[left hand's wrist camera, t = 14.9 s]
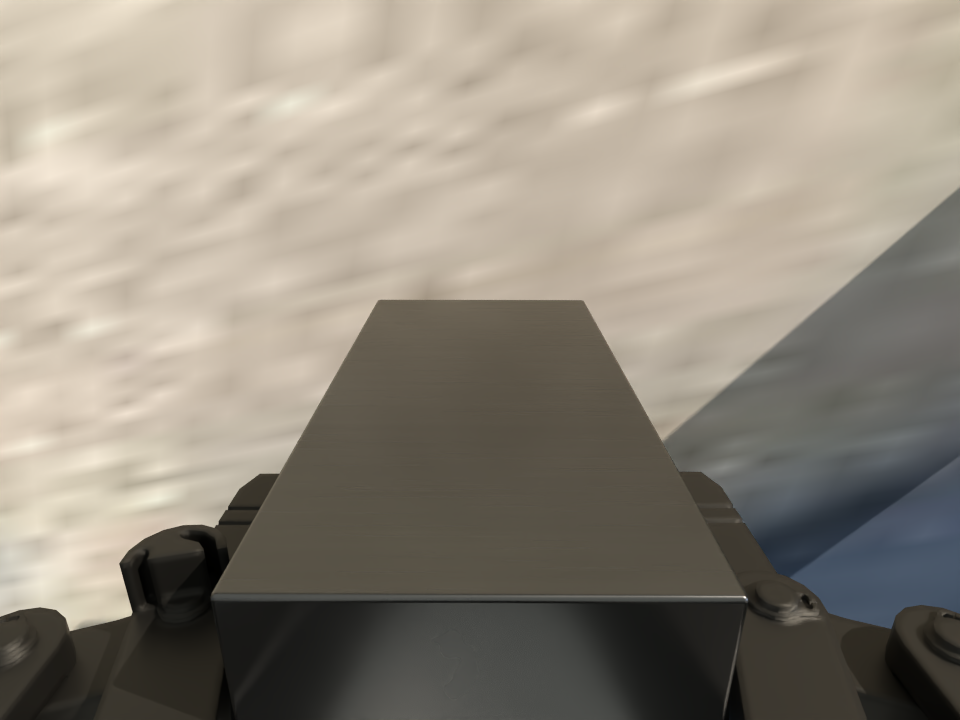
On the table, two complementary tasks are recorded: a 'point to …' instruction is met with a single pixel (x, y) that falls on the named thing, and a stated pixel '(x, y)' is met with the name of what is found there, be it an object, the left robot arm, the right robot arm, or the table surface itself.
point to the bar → (479, 538)
